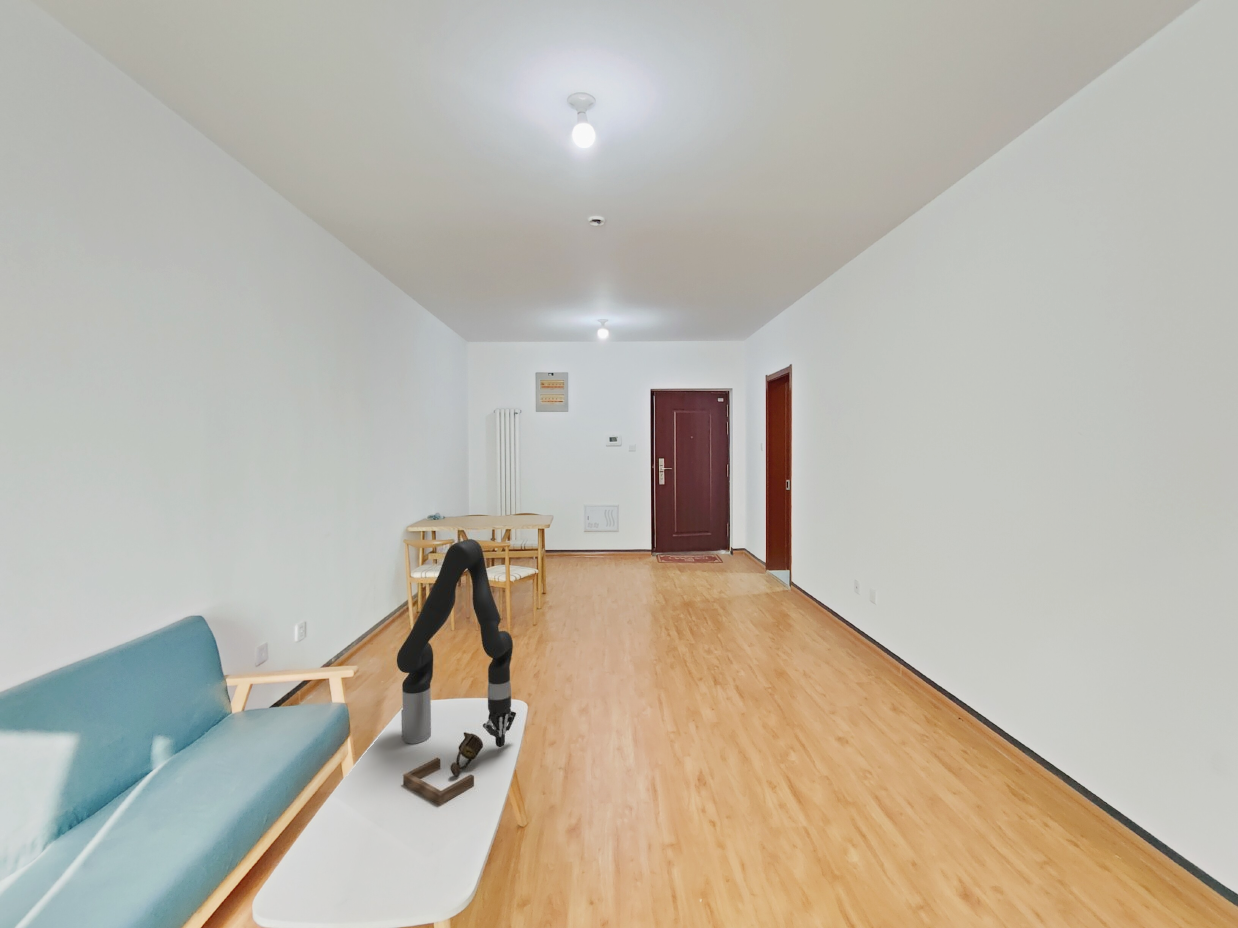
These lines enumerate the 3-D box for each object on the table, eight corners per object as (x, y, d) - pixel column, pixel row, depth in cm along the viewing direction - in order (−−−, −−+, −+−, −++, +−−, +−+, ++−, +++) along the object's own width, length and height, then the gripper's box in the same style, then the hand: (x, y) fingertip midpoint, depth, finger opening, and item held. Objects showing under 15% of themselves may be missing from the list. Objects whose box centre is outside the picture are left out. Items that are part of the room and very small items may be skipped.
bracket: (403, 784, 174) (403, 774, 174) (437, 766, 183) (437, 757, 183) (440, 805, 163) (439, 794, 163) (474, 785, 173) (473, 775, 173)
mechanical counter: (486, 758, 188) (485, 727, 188) (472, 780, 176) (472, 748, 175) (464, 757, 189) (464, 726, 189) (449, 779, 176) (448, 746, 176)
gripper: (506, 684, 200) (507, 734, 200) (476, 697, 189) (476, 750, 189) (522, 689, 195) (522, 740, 196) (491, 703, 185) (492, 757, 185)
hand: (500, 745), depth 193 cm, fingers closed
